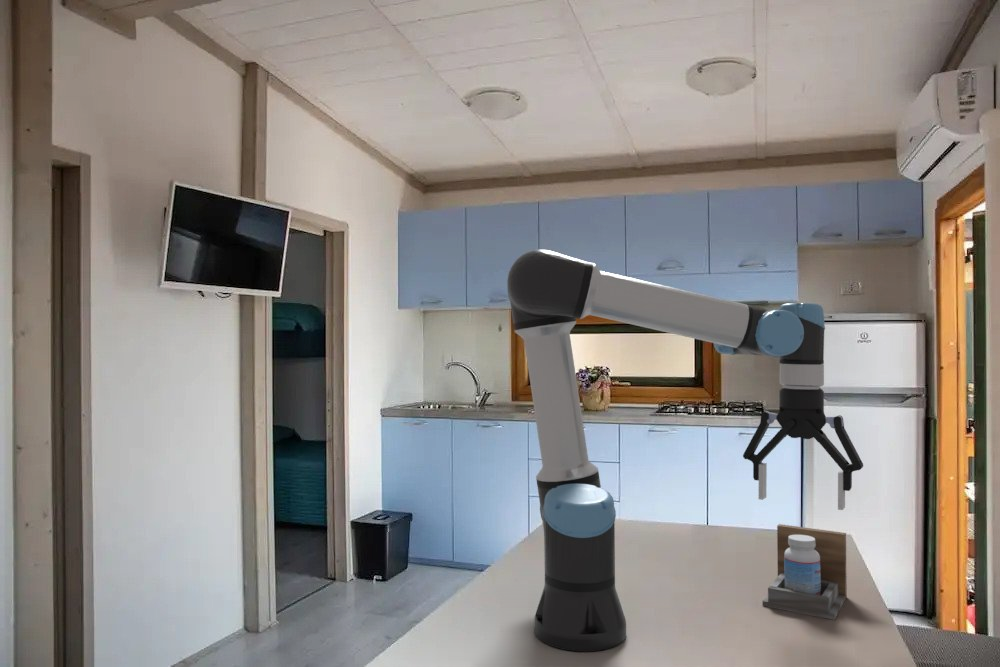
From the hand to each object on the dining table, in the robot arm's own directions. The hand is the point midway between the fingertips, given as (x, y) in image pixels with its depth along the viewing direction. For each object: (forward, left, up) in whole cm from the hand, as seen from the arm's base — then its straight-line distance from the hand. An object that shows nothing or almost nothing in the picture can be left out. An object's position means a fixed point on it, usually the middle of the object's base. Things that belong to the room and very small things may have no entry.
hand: (800, 503), depth 131 cm
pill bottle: (0, 0, -18) cm, 18 cm away
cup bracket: (+2, 0, -18) cm, 18 cm away
